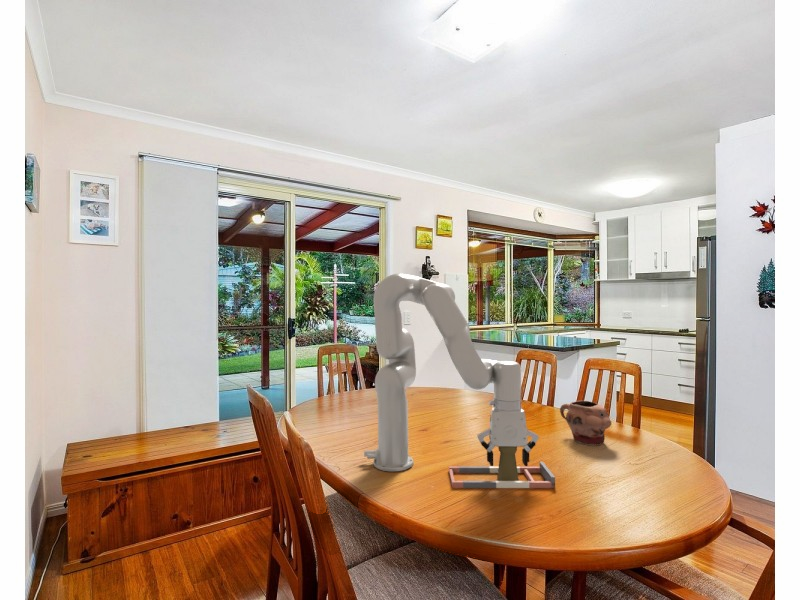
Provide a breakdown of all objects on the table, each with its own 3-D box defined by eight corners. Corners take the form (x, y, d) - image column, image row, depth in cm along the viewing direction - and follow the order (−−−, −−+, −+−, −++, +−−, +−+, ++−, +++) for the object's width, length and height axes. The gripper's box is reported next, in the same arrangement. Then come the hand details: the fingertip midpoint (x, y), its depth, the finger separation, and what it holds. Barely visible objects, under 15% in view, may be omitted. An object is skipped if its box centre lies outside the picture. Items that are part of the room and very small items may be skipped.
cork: (503, 485, 118) (503, 445, 118) (493, 476, 124) (493, 438, 124) (522, 482, 119) (522, 443, 119) (512, 474, 125) (511, 436, 125)
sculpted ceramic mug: (549, 437, 158) (549, 399, 158) (567, 430, 165) (567, 395, 165) (603, 452, 142) (602, 410, 142) (620, 444, 149) (620, 404, 149)
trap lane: (452, 487, 117) (452, 476, 117) (448, 471, 128) (448, 461, 128) (555, 488, 116) (555, 477, 116) (542, 471, 127) (542, 461, 127)
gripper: (479, 408, 118) (479, 469, 118) (541, 408, 117) (542, 469, 117) (475, 401, 125) (475, 459, 126) (534, 401, 125) (534, 459, 125)
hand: (508, 464), depth 122 cm, fingers open, 9 cm apart
